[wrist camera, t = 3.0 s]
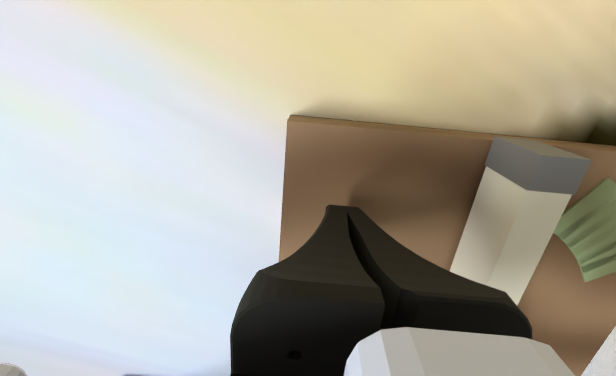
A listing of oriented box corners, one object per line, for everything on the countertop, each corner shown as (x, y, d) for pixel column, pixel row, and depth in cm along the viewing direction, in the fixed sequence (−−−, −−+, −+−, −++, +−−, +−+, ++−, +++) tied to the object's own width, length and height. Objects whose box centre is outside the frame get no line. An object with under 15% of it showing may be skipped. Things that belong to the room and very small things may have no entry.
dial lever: (463, 348, 16) (489, 398, 14) (409, 343, 16) (426, 393, 14) (551, 141, 11) (614, 162, 9) (477, 134, 11) (519, 152, 9)
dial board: (519, 418, 21) (535, 444, 20) (272, 397, 21) (268, 422, 19) (684, 152, 13) (731, 163, 12) (290, 114, 13) (287, 121, 11)
